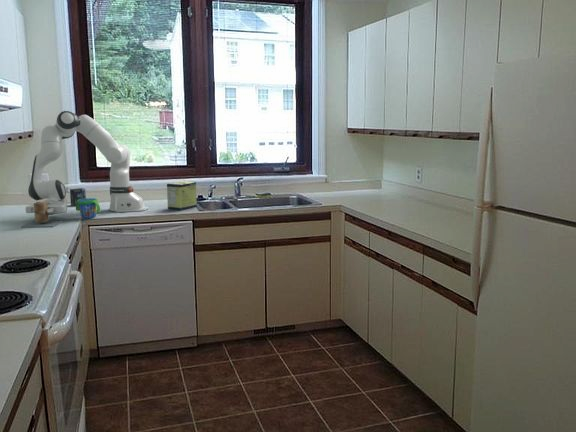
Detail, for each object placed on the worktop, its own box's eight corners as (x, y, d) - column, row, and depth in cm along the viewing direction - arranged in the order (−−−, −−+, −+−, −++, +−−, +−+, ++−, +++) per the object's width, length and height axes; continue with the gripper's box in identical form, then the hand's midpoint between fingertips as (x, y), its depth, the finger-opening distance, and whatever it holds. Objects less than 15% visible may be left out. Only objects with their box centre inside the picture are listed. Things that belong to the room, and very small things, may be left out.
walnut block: (48, 220, 297) (47, 201, 295) (45, 222, 292) (43, 203, 290) (39, 220, 297) (37, 201, 295) (35, 222, 292) (33, 203, 290)
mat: (62, 221, 302) (62, 220, 302) (53, 227, 288) (53, 226, 288) (32, 222, 301) (32, 221, 301) (21, 227, 288) (21, 226, 287)
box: (74, 206, 350) (73, 189, 348) (70, 205, 354) (69, 189, 352) (86, 205, 355) (85, 188, 353) (82, 204, 359) (81, 187, 357)
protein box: (197, 206, 348) (196, 181, 346) (180, 210, 335) (179, 184, 332) (184, 205, 354) (183, 180, 351) (167, 209, 340) (166, 183, 337)
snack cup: (71, 217, 313) (69, 199, 312) (86, 214, 322) (85, 197, 321) (90, 220, 306) (89, 202, 304) (105, 217, 315) (104, 199, 313)
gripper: (30, 201, 305) (19, 205, 292) (69, 200, 306) (59, 205, 292) (31, 212, 306) (21, 217, 293) (69, 212, 307) (60, 217, 294)
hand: (40, 211), depth 293 cm, fingers closed on walnut block, 5 cm apart
